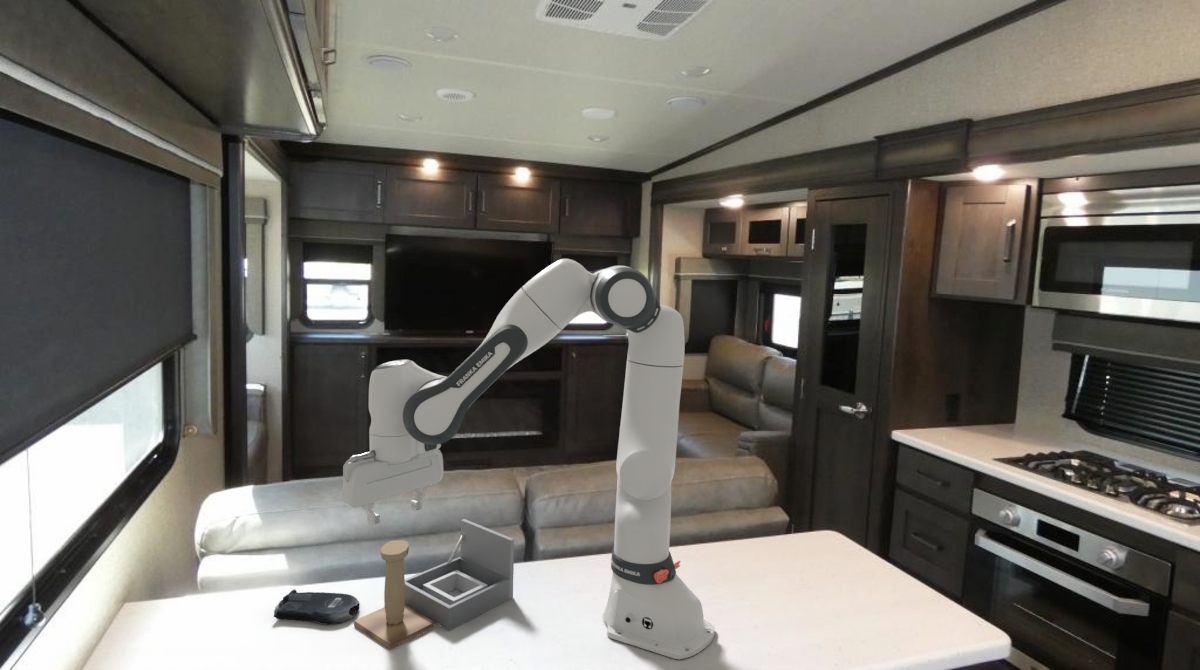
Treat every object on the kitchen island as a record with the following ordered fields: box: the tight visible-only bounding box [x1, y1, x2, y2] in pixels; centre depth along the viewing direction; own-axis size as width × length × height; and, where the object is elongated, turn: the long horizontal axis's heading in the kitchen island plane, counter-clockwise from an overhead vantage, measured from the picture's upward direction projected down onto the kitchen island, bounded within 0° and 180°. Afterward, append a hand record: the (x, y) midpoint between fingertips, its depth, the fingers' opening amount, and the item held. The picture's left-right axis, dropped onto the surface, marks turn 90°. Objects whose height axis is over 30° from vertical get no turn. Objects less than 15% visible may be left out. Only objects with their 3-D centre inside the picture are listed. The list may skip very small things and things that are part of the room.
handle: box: [380, 539, 410, 625], centre depth 127 cm, size 5×6×15 cm
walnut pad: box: [353, 605, 436, 650], centre depth 128 cm, size 12×10×1 cm
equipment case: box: [405, 518, 515, 631], centre depth 138 cm, size 16×17×13 cm
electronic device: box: [273, 588, 360, 626], centre depth 132 cm, size 9×6×15 cm
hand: (395, 516), depth 126 cm, fingers open, 8 cm apart
